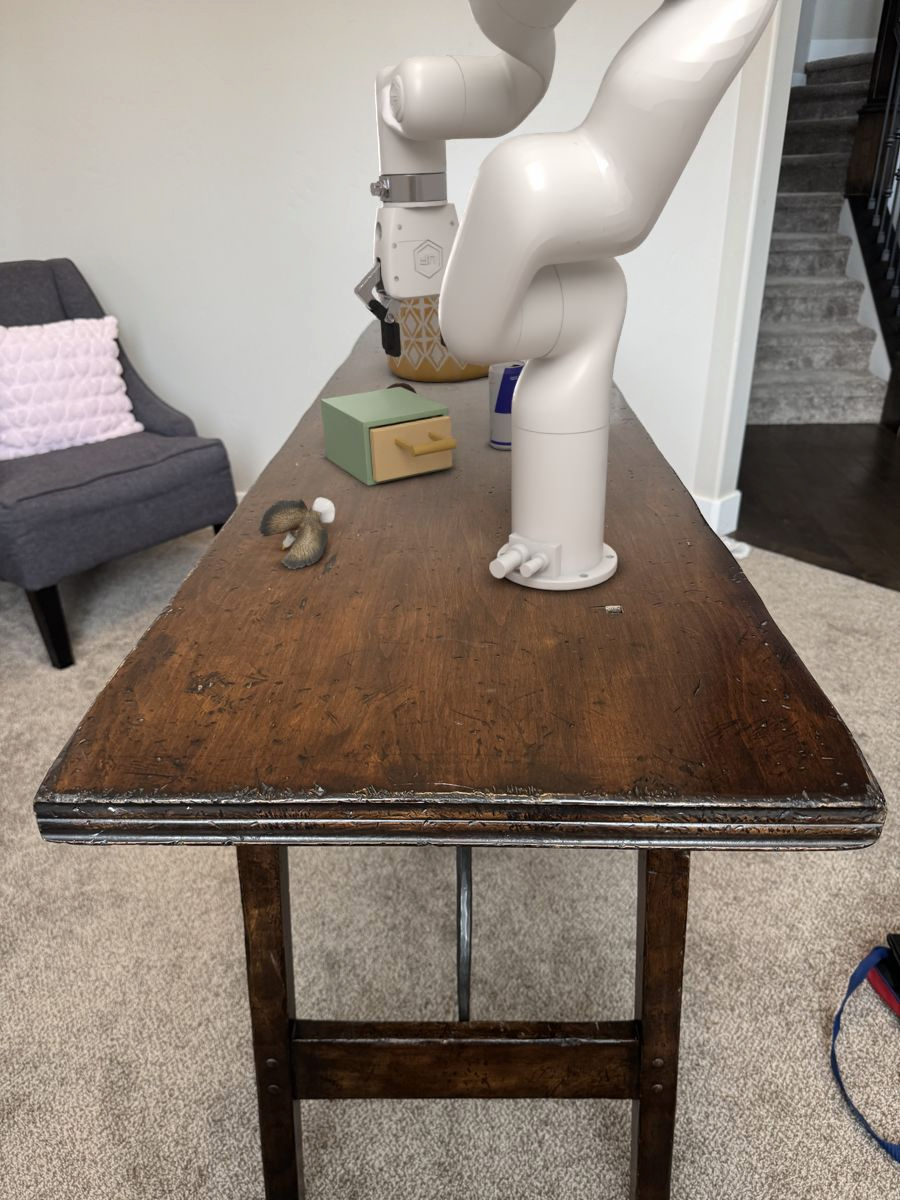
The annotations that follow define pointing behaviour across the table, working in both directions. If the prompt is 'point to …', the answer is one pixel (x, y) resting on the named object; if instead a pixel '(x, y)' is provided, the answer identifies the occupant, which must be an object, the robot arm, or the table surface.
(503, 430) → the energy drink
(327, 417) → the cabinet
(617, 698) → the table surface
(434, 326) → the planter
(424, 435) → the drawer
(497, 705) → the table surface
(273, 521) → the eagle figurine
